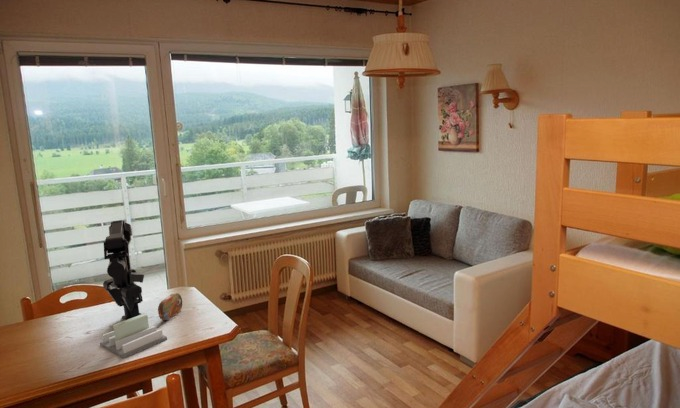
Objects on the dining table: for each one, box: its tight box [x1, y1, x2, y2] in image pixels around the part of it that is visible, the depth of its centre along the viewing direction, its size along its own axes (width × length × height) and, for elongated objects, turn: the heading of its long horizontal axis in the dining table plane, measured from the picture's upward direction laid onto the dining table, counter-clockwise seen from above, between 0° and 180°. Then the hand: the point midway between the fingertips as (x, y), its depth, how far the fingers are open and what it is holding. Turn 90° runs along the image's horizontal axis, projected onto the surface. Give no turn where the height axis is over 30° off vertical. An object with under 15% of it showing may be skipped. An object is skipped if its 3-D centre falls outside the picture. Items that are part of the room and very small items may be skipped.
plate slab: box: [112, 313, 150, 341], centre depth 178 cm, size 2×12×8 cm, turn 141°
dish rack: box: [99, 325, 168, 359], centre depth 179 cm, size 18×17×4 cm
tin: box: [157, 293, 183, 321], centre depth 201 cm, size 15×3×8 cm, turn 168°
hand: (125, 307), depth 183 cm, fingers open, 9 cm apart
